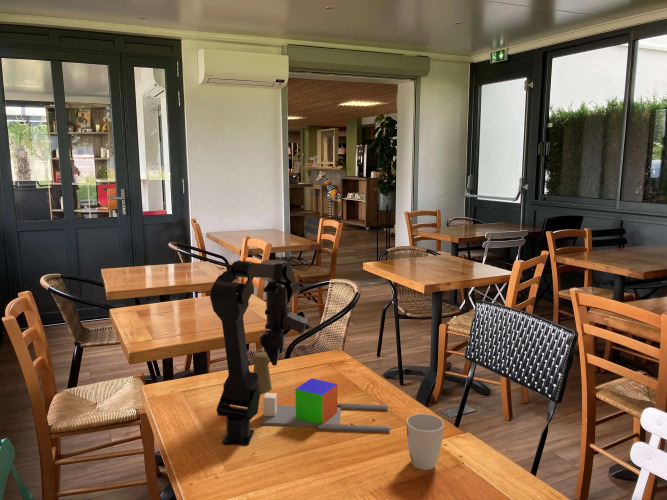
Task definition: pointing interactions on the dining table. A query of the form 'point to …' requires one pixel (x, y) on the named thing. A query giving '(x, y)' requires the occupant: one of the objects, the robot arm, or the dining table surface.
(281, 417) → the grey panel with knob
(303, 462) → the dining table surface
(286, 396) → the dining table surface
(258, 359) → the cork
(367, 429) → the lane rails
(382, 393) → the dining table surface
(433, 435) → the cup
